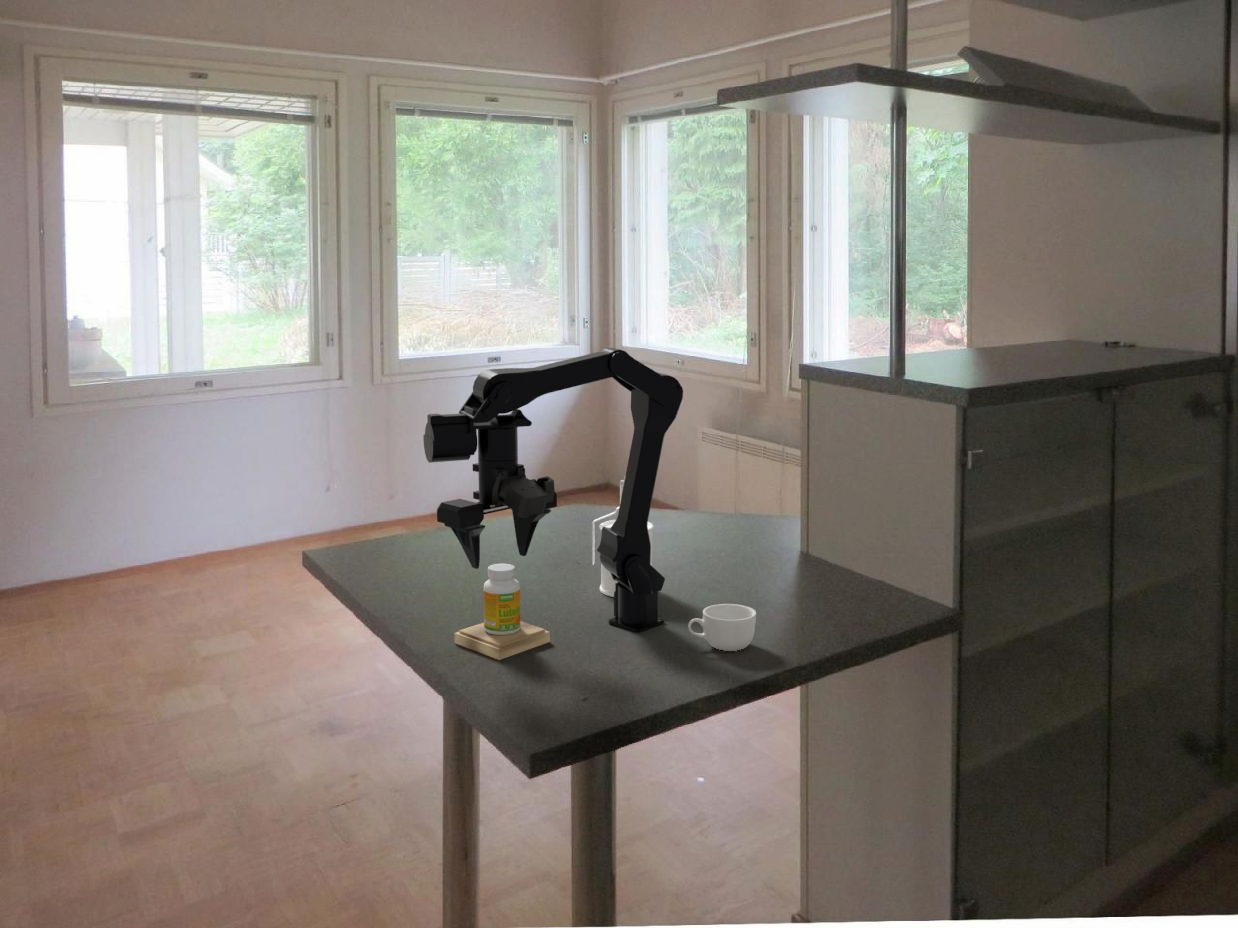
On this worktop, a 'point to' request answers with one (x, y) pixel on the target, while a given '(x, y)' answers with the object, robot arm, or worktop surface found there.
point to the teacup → (727, 626)
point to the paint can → (606, 578)
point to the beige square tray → (502, 640)
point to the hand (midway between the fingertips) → (499, 561)
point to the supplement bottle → (501, 600)
